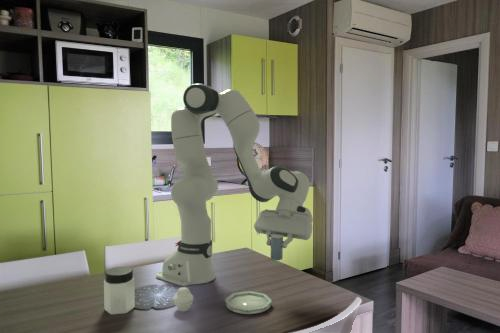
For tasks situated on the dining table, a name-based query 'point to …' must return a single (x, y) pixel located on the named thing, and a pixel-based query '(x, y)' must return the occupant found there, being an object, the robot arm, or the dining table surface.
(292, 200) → the robot arm
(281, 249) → the ball
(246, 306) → the plate
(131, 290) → the jar
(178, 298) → the muffin
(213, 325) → the dining table surface
